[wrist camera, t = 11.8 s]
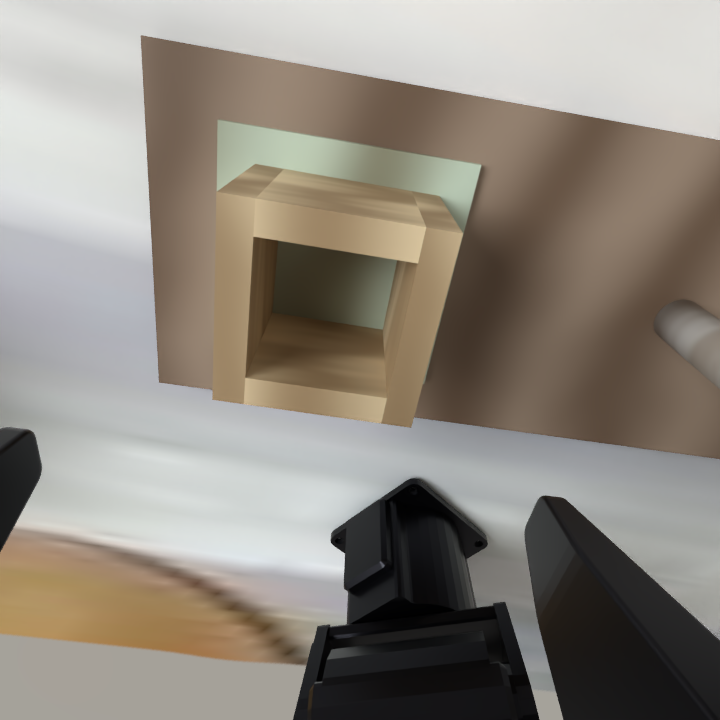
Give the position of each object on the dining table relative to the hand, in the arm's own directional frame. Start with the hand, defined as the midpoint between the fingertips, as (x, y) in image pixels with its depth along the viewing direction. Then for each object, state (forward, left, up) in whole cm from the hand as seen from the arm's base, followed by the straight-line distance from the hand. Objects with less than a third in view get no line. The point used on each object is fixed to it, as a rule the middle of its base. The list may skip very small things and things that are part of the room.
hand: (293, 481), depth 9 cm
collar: (0, 0, -11) cm, 11 cm away
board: (-6, -4, -13) cm, 15 cm away
